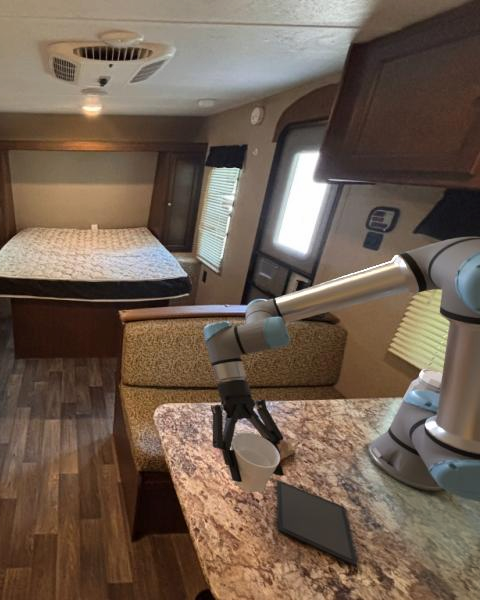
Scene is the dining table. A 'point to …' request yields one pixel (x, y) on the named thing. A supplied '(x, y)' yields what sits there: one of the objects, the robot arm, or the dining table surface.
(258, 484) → the cup
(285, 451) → the shard
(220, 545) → the dining table surface
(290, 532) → the mat
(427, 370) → the jar
